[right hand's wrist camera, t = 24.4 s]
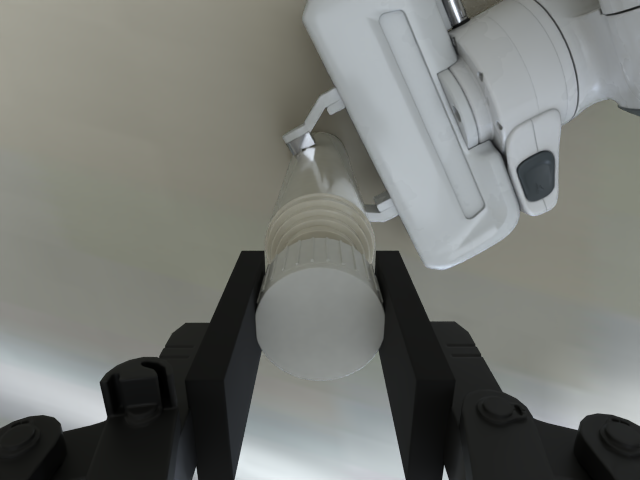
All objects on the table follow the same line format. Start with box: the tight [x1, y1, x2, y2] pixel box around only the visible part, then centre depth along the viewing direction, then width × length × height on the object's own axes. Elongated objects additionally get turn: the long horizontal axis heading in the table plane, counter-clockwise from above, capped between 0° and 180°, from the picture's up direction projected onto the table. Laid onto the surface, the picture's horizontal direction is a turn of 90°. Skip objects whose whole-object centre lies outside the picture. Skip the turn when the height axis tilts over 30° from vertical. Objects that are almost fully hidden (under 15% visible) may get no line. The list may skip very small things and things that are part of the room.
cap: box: [255, 237, 385, 381], centre depth 14 cm, size 4×4×2 cm
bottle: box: [265, 132, 375, 264], centre depth 25 cm, size 5×5×25 cm
